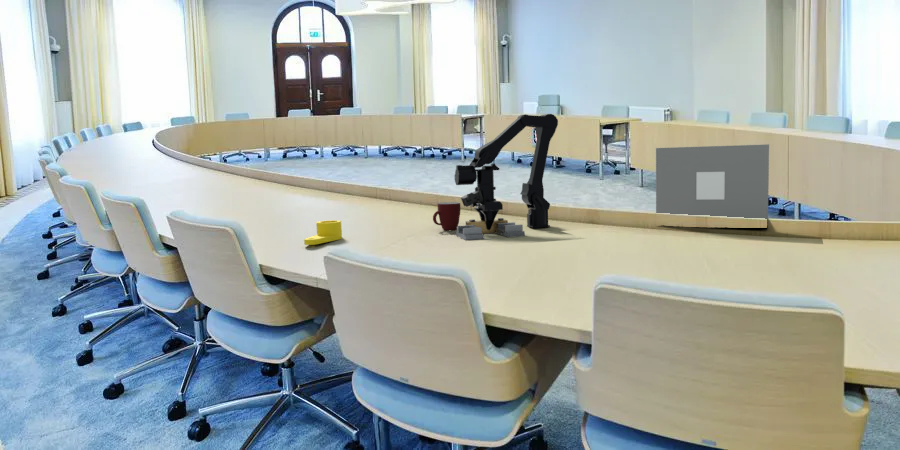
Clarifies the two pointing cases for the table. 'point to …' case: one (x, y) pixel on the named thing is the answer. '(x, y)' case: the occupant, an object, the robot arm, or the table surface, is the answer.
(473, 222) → the link
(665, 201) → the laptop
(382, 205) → the table surface
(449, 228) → the mug
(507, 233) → the pair of grey blocks
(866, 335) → the table surface
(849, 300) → the table surface
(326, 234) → the crank
